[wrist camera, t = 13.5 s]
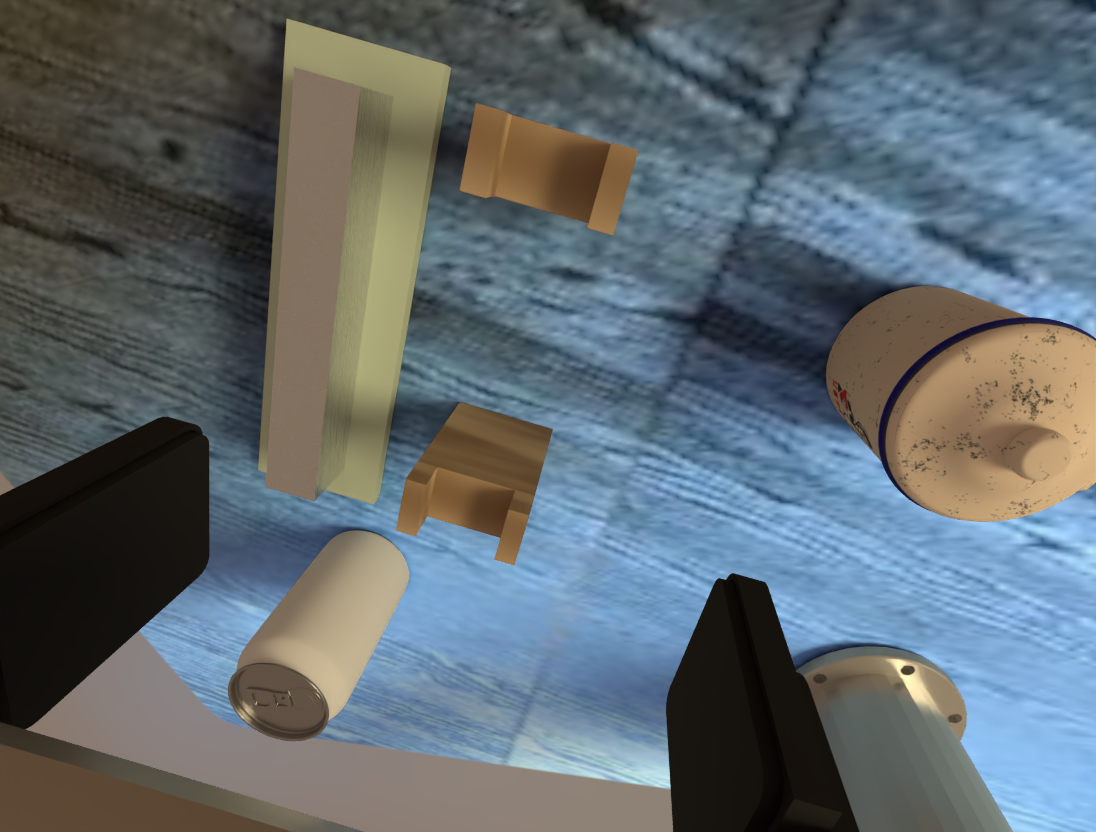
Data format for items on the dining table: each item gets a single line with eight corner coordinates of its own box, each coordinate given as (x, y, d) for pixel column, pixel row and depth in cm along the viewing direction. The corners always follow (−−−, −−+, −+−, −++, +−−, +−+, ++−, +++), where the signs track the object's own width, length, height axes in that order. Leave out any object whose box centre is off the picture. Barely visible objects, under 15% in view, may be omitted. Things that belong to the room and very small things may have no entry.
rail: (344, 469, 38) (314, 501, 34) (300, 456, 38) (265, 486, 34) (393, 96, 29) (360, 86, 25) (335, 79, 29) (294, 67, 25)
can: (417, 601, 43) (346, 751, 32) (334, 598, 44) (237, 743, 33) (404, 527, 40) (321, 661, 29) (316, 525, 41) (204, 655, 30)
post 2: (540, 470, 37) (514, 565, 28) (450, 443, 37) (396, 530, 28) (552, 429, 36) (529, 515, 27) (459, 401, 36) (405, 479, 27)
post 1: (616, 215, 31) (613, 235, 22) (507, 184, 31) (459, 190, 22) (634, 155, 30) (638, 150, 21) (520, 122, 30) (475, 102, 21)
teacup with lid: (784, 387, 33) (859, 490, 23) (900, 246, 30) (1054, 289, 19) (951, 489, 35) (1096, 632, 24) (1082, 364, 31) (1322, 467, 20)
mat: (379, 496, 40) (373, 504, 39) (266, 463, 40) (258, 470, 39) (451, 67, 29) (445, 64, 28) (297, 23, 29) (286, 18, 28)
